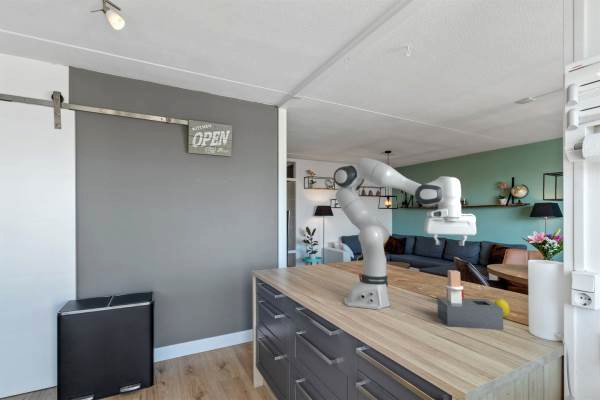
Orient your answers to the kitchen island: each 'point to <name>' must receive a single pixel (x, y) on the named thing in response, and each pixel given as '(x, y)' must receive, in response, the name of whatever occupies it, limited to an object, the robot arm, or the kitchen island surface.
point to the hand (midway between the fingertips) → (449, 245)
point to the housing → (470, 313)
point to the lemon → (503, 305)
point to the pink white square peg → (454, 287)
